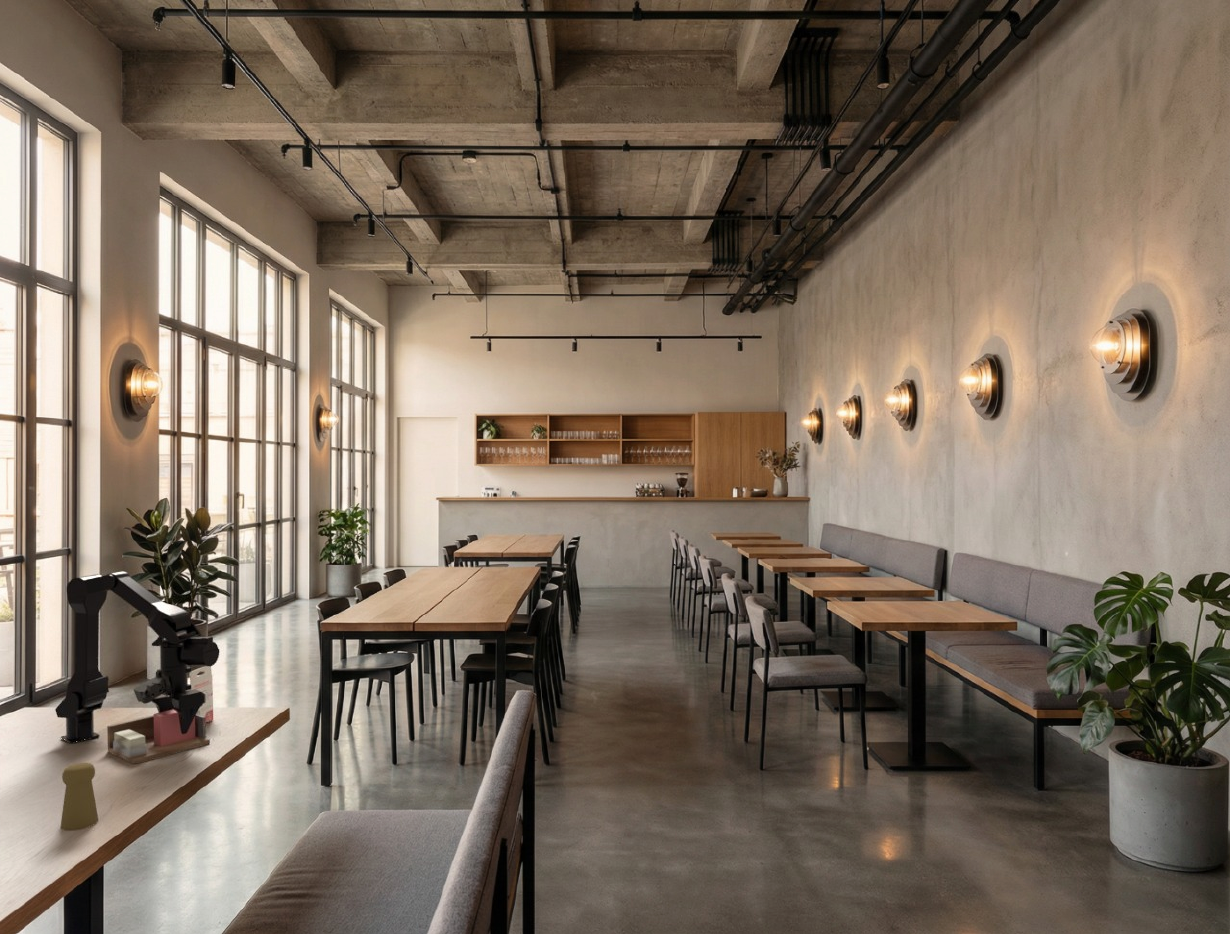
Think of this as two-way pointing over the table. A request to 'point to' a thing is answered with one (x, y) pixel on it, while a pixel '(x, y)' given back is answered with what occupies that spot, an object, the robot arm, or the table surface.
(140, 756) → the shelf
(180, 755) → the table surface
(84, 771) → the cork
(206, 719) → the ink cartridge box
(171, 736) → the tall dusty pink block
